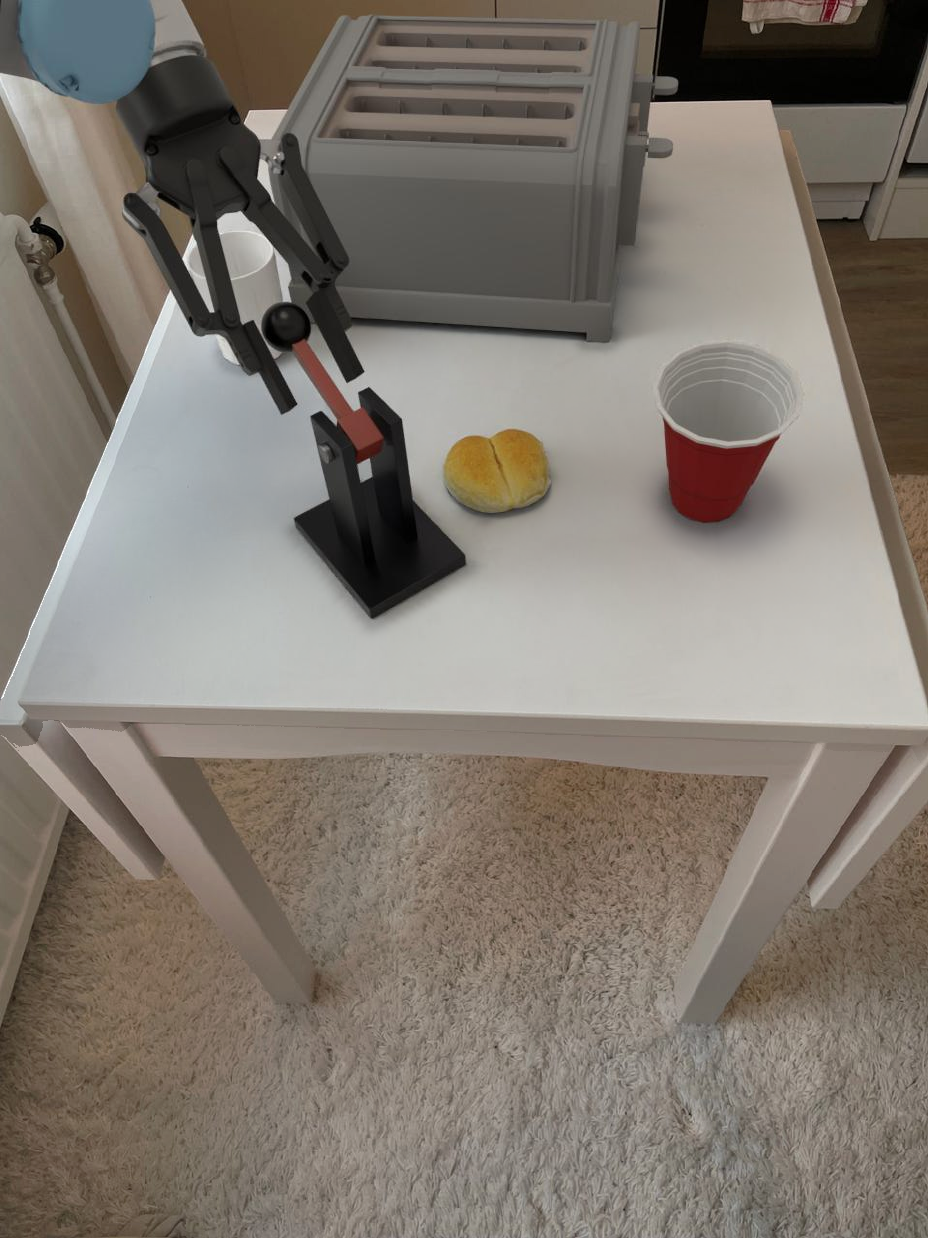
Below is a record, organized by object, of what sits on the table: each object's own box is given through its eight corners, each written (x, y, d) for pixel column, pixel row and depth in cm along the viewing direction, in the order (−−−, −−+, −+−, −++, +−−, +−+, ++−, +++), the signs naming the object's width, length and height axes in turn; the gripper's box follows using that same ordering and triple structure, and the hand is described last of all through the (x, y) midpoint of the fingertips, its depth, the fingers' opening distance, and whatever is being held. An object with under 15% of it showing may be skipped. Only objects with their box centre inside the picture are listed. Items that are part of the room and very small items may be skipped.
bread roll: (438, 457, 84) (434, 422, 81) (537, 441, 84) (538, 406, 81) (452, 525, 79) (449, 491, 76) (558, 509, 79) (560, 474, 76)
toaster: (649, 345, 91) (673, 169, 77) (293, 321, 96) (255, 151, 82) (664, 175, 109) (685, 7, 95) (362, 162, 114) (340, 0, 100)
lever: (252, 331, 71) (251, 303, 68) (294, 313, 72) (295, 283, 69) (346, 473, 69) (350, 451, 66) (387, 452, 70) (393, 429, 67)
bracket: (295, 527, 80) (258, 399, 69) (386, 479, 82) (364, 348, 71) (371, 619, 74) (344, 495, 62) (466, 564, 76) (456, 436, 65)
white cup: (311, 340, 94) (291, 248, 86) (252, 381, 91) (225, 291, 83) (257, 310, 98) (234, 220, 90) (199, 350, 94) (168, 259, 86)
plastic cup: (615, 518, 79) (628, 406, 69) (670, 438, 84) (689, 323, 74) (740, 568, 75) (773, 457, 65) (790, 480, 80) (826, 365, 70)
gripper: (34, 97, 59) (221, 439, 64) (287, 12, 65) (441, 332, 70) (38, 148, 66) (207, 453, 71) (266, 67, 72) (408, 355, 77)
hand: (322, 392), depth 70 cm, fingers open, 5 cm apart
